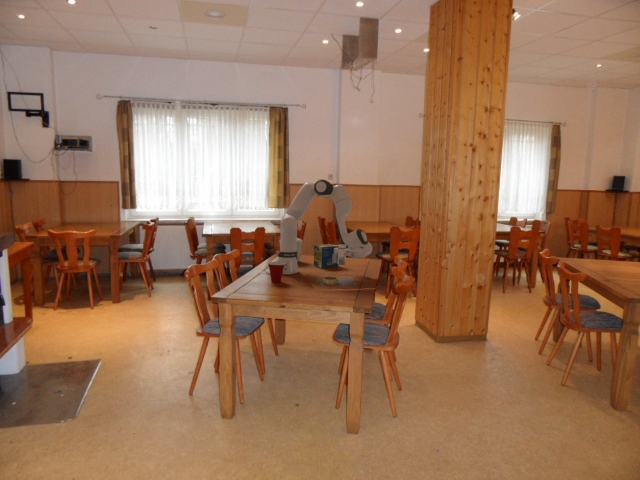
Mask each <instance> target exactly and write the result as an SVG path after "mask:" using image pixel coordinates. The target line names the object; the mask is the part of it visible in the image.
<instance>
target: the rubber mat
mask: <svg viewBox="0 0 640 480" xmlns="http://www.w3.org/2000/svg"><path fill="white" fill-rule="evenodd" d="M315 280H316V282H317V283H318V285H319V286H320V287H325V286H326V287H330V286H359V284H358V283H357V282H356V281H355V280H354V278H338V284H336V285H325V284H323V283H322V279H321V278H317V279H315Z"/></svg>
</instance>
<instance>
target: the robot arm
mask: <svg viewBox="0 0 640 480" xmlns="http://www.w3.org/2000/svg"><path fill="white" fill-rule="evenodd" d="M316 196H317V197H321V198H329V197H330V198H331V199H332V201H333V204H334V206H335V215H334V219H335V222H336V227H337V231H338V235H339V241H340V244H344V245H346V253H344V256H346V257H349V258H351V259H365V258H366V257H367V256H370V255H371V253H372V251H373V245H372V243H371V242H369V239H368V235H367V233H366V232H365V230H363V229H360V228H357V229H355V230H353V231H351V232H348V230H347V225H346V219H347V217H348V216H349V214H350V213H351V212H352V210H353V201H352V199H351V196H350V194H349V191H347V189H346V187H345V186H344V185H342V184H336V185H333V184H332V183H330V181H328V180H327V179H324V178H323V179H318V180H317V181H315V183H312V182H305V183H303V184H302V186H301V187H300V188H299V190H298V192H297V193H296V194H295V196H294V198H293V200H292V201H291V203H290V204H289V206H288V208H287V209H286V211H285V212H284V214H283V215H282V217H281V219H280V225H279V227H280V232H279V233H280V240H281V248H280V250H277V251H276V255H277V257H275V258H274V259H273V260H271V261H270V262H281V263H285V265H284V268H283V274H282V275H293V274H297V273H299V272H300V271H299V266H298V262H297V258H298V253H297V238H298V223H299V221H300V220H301V219H302V217H303V216H304V214H305V213H306V212H307V209H308V207H309V206H310V205H311V203H312V201H313V200H314V198H315V197H316ZM334 254H338V248H334ZM265 274H267V275H268V274H269V275H270V270H269V268H267V269H265Z"/></svg>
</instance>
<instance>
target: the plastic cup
mask: <svg viewBox="0 0 640 480" xmlns="http://www.w3.org/2000/svg"><path fill="white" fill-rule="evenodd" d="M267 265H268V269H269V270H270V274H269V275H270V280H271V283H274V284H275V283H276V284H277V283H281V282H282V278H283V275H284V274H283V268H284V265H285V263H281V262H271V261H269V262H267Z"/></svg>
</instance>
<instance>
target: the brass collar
mask: <svg viewBox="0 0 640 480" xmlns="http://www.w3.org/2000/svg"><path fill="white" fill-rule="evenodd" d="M321 278H322V283H323V284H325V285H335V286H337V285H336V284H338V279H339V278H338V277H337V276H323V277H321Z"/></svg>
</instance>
